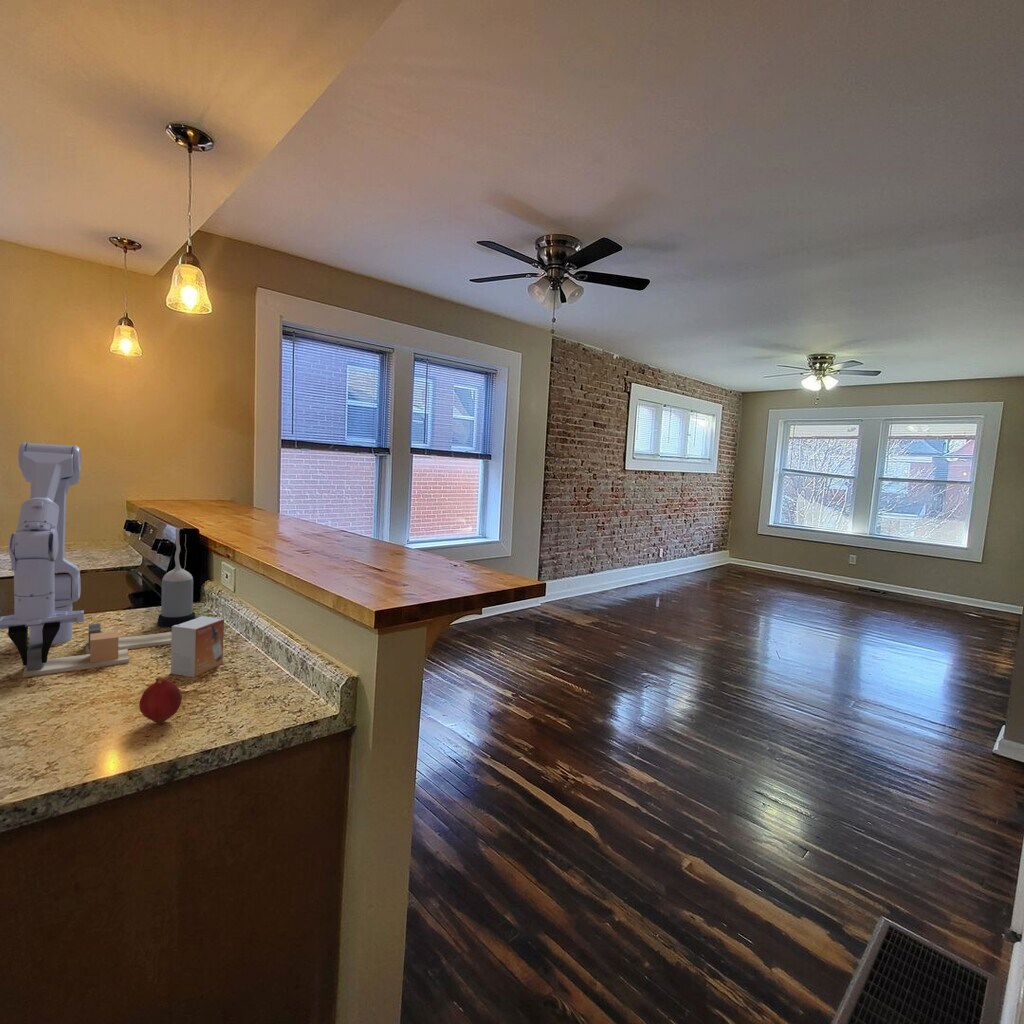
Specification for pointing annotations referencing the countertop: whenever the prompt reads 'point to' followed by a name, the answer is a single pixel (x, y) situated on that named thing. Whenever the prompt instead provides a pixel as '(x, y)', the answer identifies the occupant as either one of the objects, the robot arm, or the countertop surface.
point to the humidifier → (176, 594)
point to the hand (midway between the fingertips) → (35, 662)
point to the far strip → (133, 639)
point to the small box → (197, 646)
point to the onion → (160, 700)
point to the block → (103, 646)
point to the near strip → (64, 661)
